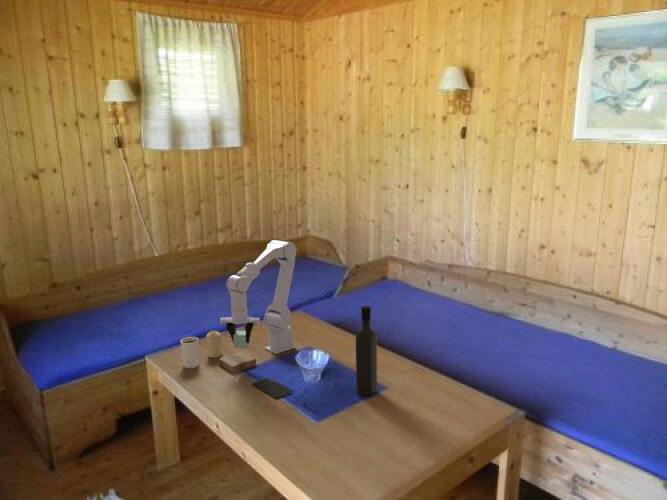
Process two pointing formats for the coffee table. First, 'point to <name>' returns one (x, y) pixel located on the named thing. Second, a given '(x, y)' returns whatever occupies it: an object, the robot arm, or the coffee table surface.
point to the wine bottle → (366, 356)
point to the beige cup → (190, 352)
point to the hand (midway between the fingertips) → (241, 342)
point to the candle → (214, 344)
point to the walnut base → (237, 361)
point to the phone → (272, 388)
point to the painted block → (240, 339)
